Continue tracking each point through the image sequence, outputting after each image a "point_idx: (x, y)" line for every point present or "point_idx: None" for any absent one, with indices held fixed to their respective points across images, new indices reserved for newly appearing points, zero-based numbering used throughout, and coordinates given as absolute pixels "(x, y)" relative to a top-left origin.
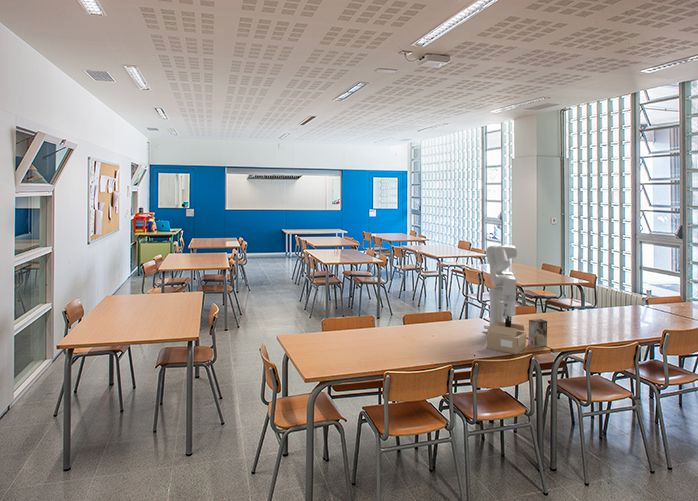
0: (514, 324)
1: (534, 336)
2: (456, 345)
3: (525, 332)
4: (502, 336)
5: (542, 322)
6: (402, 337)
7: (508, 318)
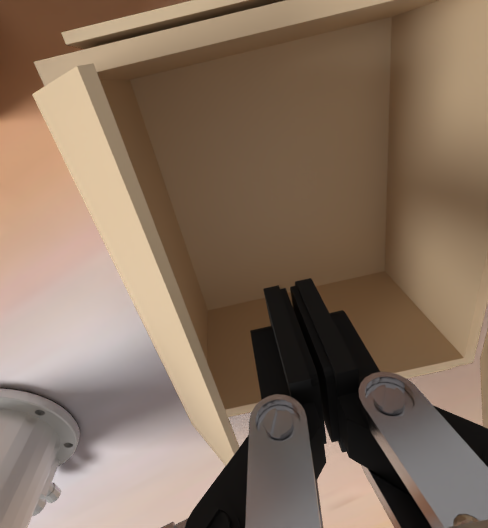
0: (178, 296)
1: None
2: (427, 393)
3: (63, 55)
4: None
5: None
6: None
7: (469, 463)
